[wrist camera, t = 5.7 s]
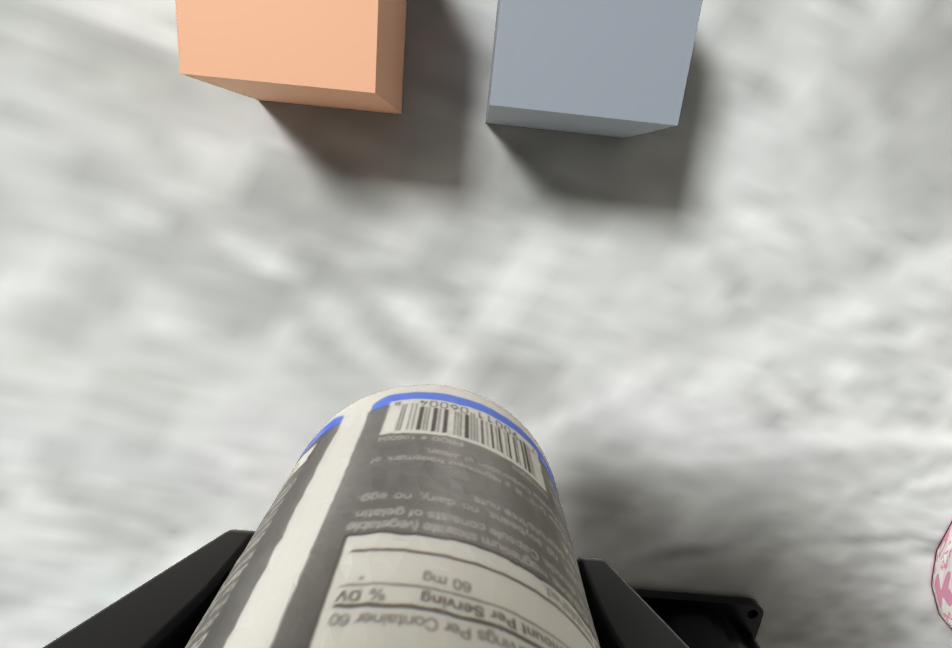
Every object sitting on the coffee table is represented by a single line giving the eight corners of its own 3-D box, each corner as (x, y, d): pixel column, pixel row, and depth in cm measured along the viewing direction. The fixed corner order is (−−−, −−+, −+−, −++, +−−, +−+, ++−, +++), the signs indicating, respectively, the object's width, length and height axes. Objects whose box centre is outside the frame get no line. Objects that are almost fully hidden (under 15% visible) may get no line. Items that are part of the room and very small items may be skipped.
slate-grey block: (652, -22, 17) (722, -99, 12) (624, 138, 18) (677, 125, 14) (501, -40, 17) (512, -125, 12) (485, 123, 18) (489, 104, 13)
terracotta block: (409, -51, 17) (382, -141, 12) (401, 114, 18) (374, 92, 13) (254, -67, 17) (164, -165, 12) (258, 100, 18) (180, 73, 13)
